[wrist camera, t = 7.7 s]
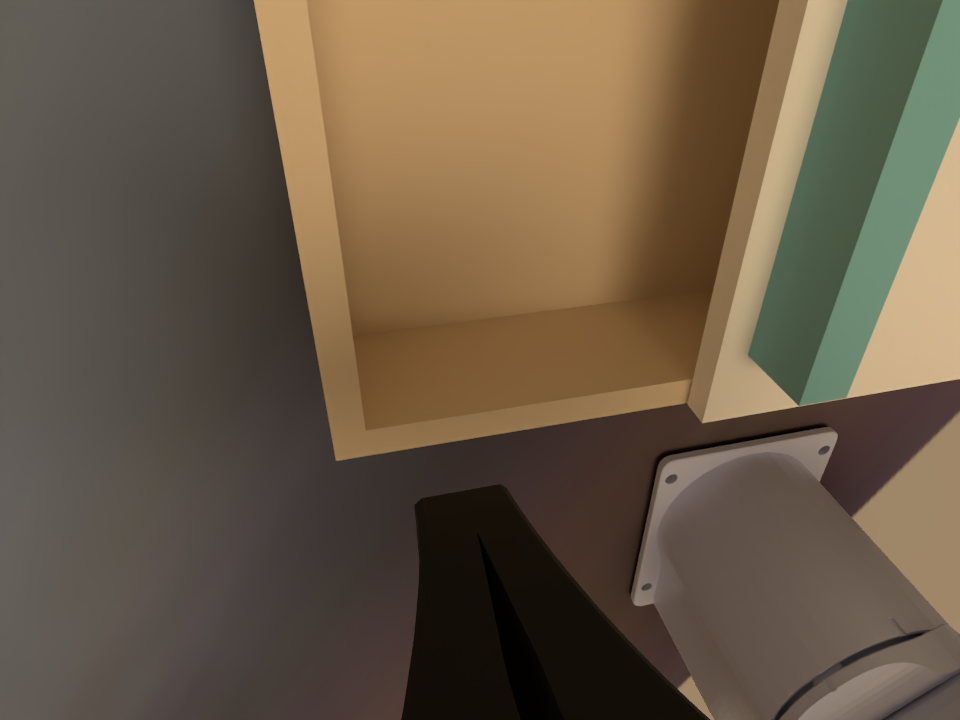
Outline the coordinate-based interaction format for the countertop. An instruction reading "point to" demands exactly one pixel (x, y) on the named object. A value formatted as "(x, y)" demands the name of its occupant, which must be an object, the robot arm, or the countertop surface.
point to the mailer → (508, 201)
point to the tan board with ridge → (842, 214)
